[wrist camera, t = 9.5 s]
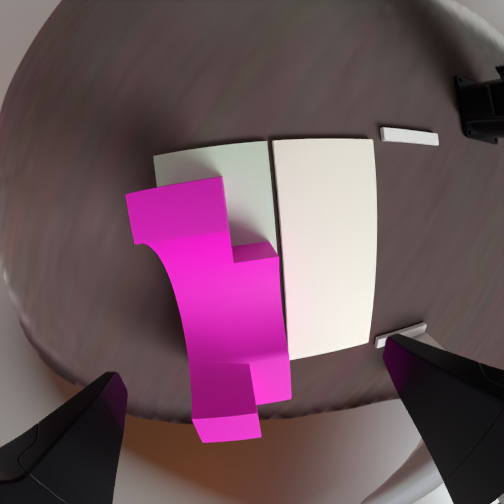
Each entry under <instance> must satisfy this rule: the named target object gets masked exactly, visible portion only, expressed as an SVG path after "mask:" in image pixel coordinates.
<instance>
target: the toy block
mask: <svg viewBox="0 0 504 504" xmlns="http://www.w3.org/2000/svg"><path fill="white" fill-rule="evenodd" d="M126 201H127V207H128V212H129V218H130V223H131V228H132V233H133V238H134V243H135V244H141V243H143V244H146V245H148V246H150V247H151V248H152V249H153V250H154V251H155V252H156V253H157V254H158V256H159V257H160V259H161V261H162V262H163V264H164V266H165V268H166V271H167V273H168V275H169V278H170V280H171V283H172V286H173V289H174V293H175V296H176V299H177V303H178V307H179V311H180V315H181V320H182V325H183V329H184V335H185V341H186V347H187V353H188V361H189V369H190V379H191V394H192V421H193V423H194V425H195V427H196V429H197V432H198V434H199V436H200V438H201V440H202V442H203V443H206V442H222V441H234V440H243V439H251V438H258V437H261V431H260V425H259V418H258V412H257V405H259V404H266V403H272V402H277V401H283V400H288V399H291V378H290V359H289V352H288V346H287V341H286V334H285V327H284V320H283V312H282V303H281V293H280V278H279V256H278V254H277V253H276V251H275V249H274V248H273V246H272V245H271V243H270V242H269V241H267V242H259V243H252V244H245V245H238V246H232V242H231V235H230V228H229V221H228V213H227V206H226V198H225V191H224V183H223V176H221V177H214V178H207V179H200V180H194V181H188V182H182V183H176V184H171V185H165V186H160V187H156V188H151V189H146V190H142V191H137V192H133V193H129V194H126Z"/></svg>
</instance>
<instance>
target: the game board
mask: <svg viewBox="0 0 504 504" xmlns="http://www.w3.org/2000/svg"><path fill="white" fill-rule="evenodd" d="M380 132H381V141H394V142H406V143H417V144H426V145H435V146H436V145H439V143H438V134H434V133H428V132H421V131H413V130H405V129H396V128H385V127H383V128H380ZM272 148H273V158H274V168H275V178H276V189H277V200H278V212H279V224H280V236H281V249H282V263H283V278H284V294H285V311H286V330H287V346H288V352H289V359H290V360H293V359H299V358H304V357H309V356H314V355H319V354H324V353H328V352H333V351H337V350H341V349H345V348H349V347H353V346H357V345H361V344H365V343H368V341H369V334H370V326H371V318H372V308H373V298H374V286H375V271H376V249H377V196H376V174H375V159H374V147H373V140H371V139H293V140H274V141H272ZM153 158H154V167H155V175H156V183H157V187H160V186H165V185H171V184H176V183H182V182H188V181H194V180H200V179H207V178H214V177H221V176H223V183H224V191H225V198H226V206H227V213H228V221H229V228H230V235H231V242H232V246H238V245H245V244H252V243H259V242H267V241H269V242H270V243H271V245H272V246H273V248H274V249H275V251H276V253H277V243H276V231H275V219H274V208H273V197H272V186H271V176H270V165H269V156H268V146H267V141H260V142H248V143H238V144H228V145H220V146H212V147H204V148H197V149H191V150H184V151H178V152H172V153H167V154H161V155H156V156H153ZM426 325H427V324H426V323H424V322H423V323H420V324H417V325H414V326H411V327H408V328H404V329H401V330H398V331H395V332H391V333H388V334H385V335H381V336H378V337H376V341H375V346H376V348H380V347H383V346H385V341H386V338H387V337H388V336H389V335H392V334H396V333H399V334H401V335H404V336H407V337H409V338H411V337H414V336H416V335H419V334H422V333H425V329H426Z"/></svg>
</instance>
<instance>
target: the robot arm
mask: <svg viewBox="0 0 504 504" xmlns="http://www.w3.org/2000/svg"><path fill="white" fill-rule="evenodd" d="M495 68H496V70H497V72H498V73H499V75H500V77H501V79H496V80H490V81H485V82H480V83H476V82H474V81H471V80H469V79H467V78H465V77H462V76H460V75H456V76H455V77H454V78H455V83H456V87H457V92H458V97H459V103H460V108H461V114H462V121H463V129H464V134H465V136H466V137H467V138H471V139H475V140H479V141H483V142H487V143H491V144H498V138H504V64H502V65H499V66H496V67H495ZM383 360H384V363H385V365H386V367H387V370H388V372H389V374H390V376H391V379H392V381H393V383H394V386H395V388H396V390H397V393H398V395H399V397H400V398H401V400H402V402H403V404H404V405H405V407H406V409H407V411H408V413H409V415H410V416H411V418H412V420H413V422H414V424H415V425H416V427H417V429H418V431H419V433H420V435H421V437H422V439H423V441H424V443H425V445H426V447H427V448H428V450H429V452H430V454H431V456H432V458H433V460H434V462H435V464H436V466H437V468H438V470H439V473H440V475H441V477H442V479H443V481H444V483H445V486H446V488H447V490H448V492H449V494H450V496H451V498H452V501H453V503H454V504H490V503H492V502H493V501H495V500H496V499H497V498H498V500H499V501H500V502H499V503H498V504H504V370H501V369H498V368H494V367H491V366H488V365H485V364H482V363H479V362H476V361H474V360H471V359H468V358H465V357H462V356H459V355H456V354H454V353H451V352H448V351H445V350H442V349H440V348H437V347H434V346H431V345H429V344H426V343H423V342H420V341H418V340H415V339H412V338H409V337H407V336H404V335H401V334H399V333H396V334H392V335H389V336H388V337H387V338H386V341H385V347H384V352H383ZM127 397H128V393H127V389H126V387H125V385H124V383H123V381H122V379H121V377H120V375H119V374H118V373H117V372H105V373H104V374H103V375H101V376H100V377H99V378H97V379H96V380H95V381H93V382H92V383H91V384H89V385H88V386H87V387H85V388H84V389H83V390H82V391H80V392H79V393H77V394H76V395H75V396H74V397H72V398H71V399H69V400H68V401H67V402H65V403H64V404H63V405H62V406H60V407H59V408H57V409H56V410H55V411H53V412H52V413H51V414H49V415H48V416H47V417H45V418H44V419H42V420H41V421H40V422H39V424H38V423H37V424H36V425H34V426H33V427H32V428H30V429H29V430H28V431H26V432H25V433H23V434H22V435H20V436H19V437H17V438H15V439H14V440H13V441H10V442H9V443H7V444H5V445H4V446H2V447H0V504H112V501H113V493H114V486H115V479H116V473H117V467H118V461H119V455H120V450H121V445H122V439H123V434H124V426H125V415H126V405H127Z"/></svg>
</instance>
